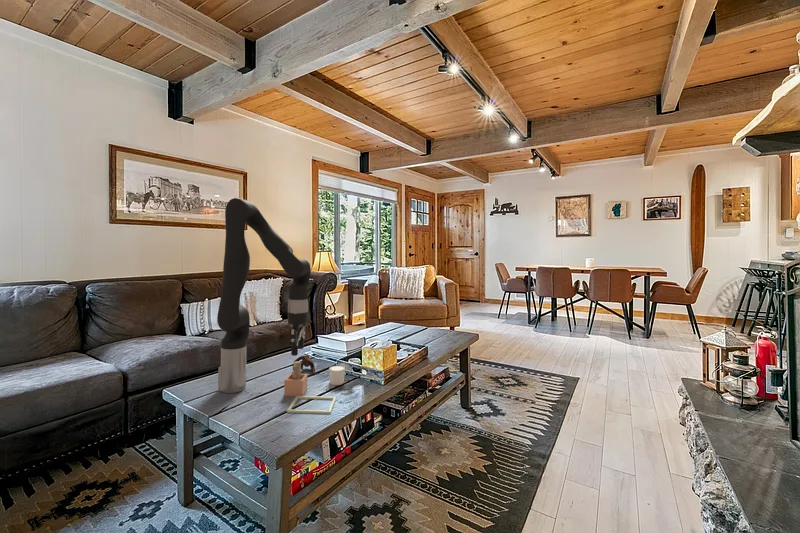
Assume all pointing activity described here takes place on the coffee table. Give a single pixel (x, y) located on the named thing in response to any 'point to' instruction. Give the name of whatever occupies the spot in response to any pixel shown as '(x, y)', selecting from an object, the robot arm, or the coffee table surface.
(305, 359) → the brown curved piece
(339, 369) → the beige cylinder
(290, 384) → the square clay pot
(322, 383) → the coffee table surface
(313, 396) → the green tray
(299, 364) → the birch pin
